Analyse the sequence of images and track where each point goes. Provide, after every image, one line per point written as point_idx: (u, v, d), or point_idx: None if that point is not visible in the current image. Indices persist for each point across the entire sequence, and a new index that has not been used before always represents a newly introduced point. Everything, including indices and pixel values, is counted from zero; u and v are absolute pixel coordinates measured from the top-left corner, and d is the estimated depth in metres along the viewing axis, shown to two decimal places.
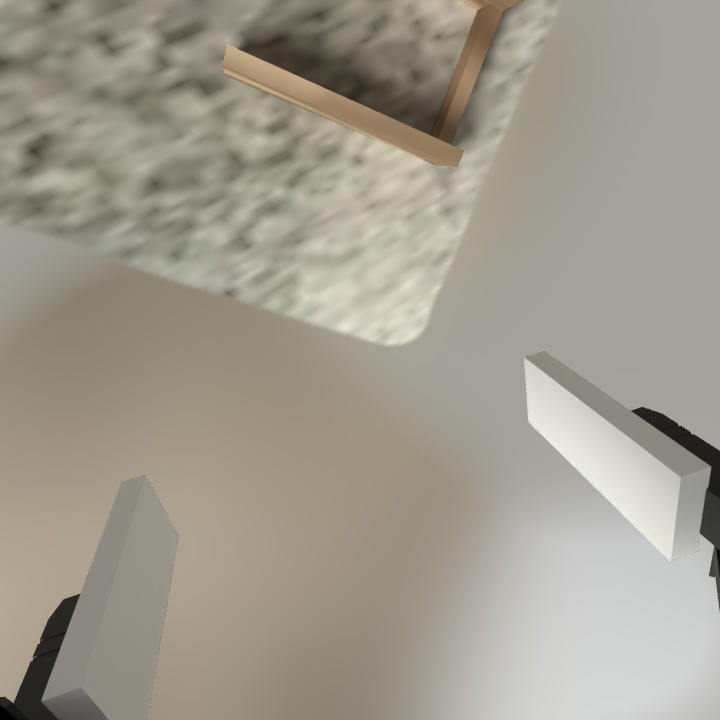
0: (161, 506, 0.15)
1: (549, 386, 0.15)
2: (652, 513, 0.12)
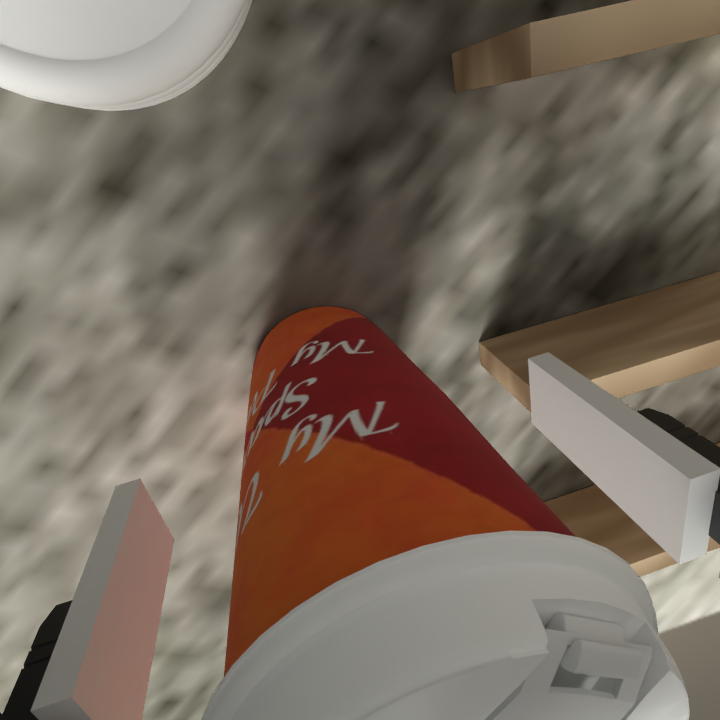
0: (156, 510, 0.15)
1: (554, 387, 0.15)
2: (660, 515, 0.12)
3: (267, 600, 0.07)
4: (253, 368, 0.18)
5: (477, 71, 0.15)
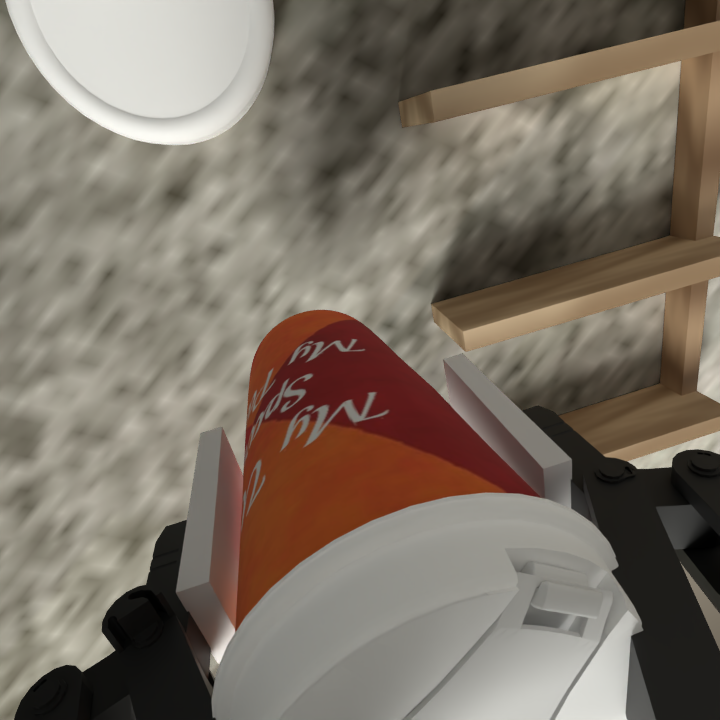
0: (233, 456, 0.17)
1: (461, 386, 0.16)
2: None
3: (274, 564, 0.08)
4: (251, 370, 0.19)
5: (411, 115, 0.23)
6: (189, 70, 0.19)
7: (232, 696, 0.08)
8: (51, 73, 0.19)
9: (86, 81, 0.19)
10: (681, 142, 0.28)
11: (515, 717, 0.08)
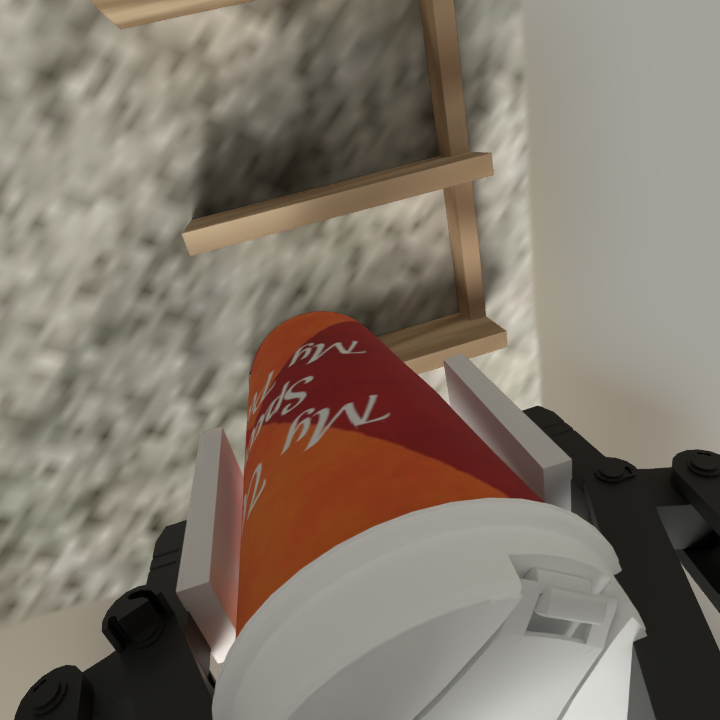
0: (233, 457, 0.17)
1: (461, 386, 0.16)
2: None
3: (274, 570, 0.08)
4: (251, 372, 0.19)
5: None
6: None
7: (232, 703, 0.08)
8: None
9: None
10: (428, 55, 0.28)
11: None
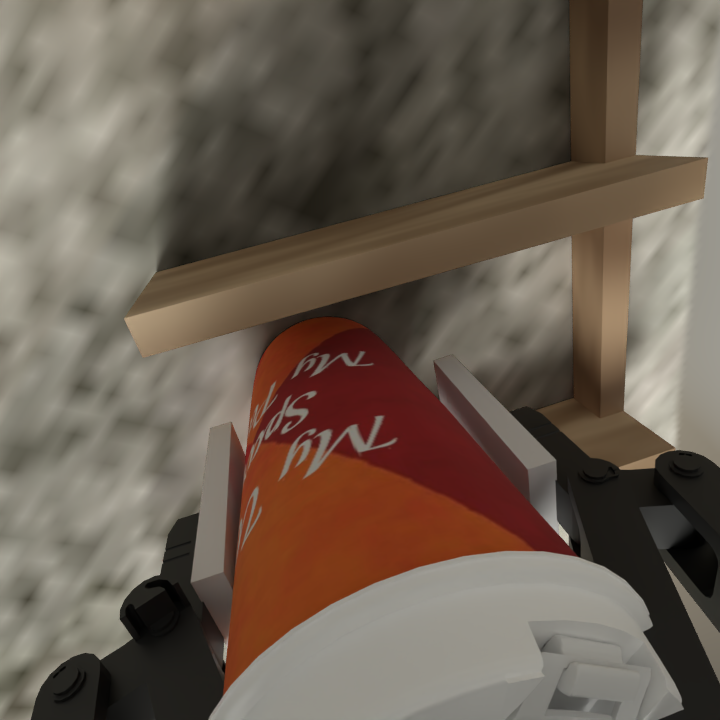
0: (242, 452, 0.17)
1: (450, 387, 0.16)
2: None
3: (265, 620, 0.07)
4: None
5: None
6: None
7: None
8: None
9: None
10: None
11: None
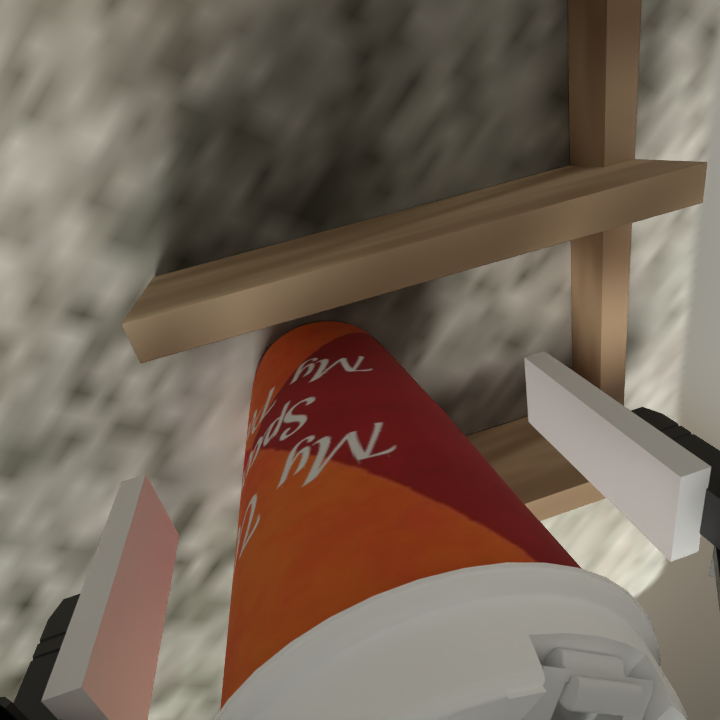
0: (161, 506, 0.15)
1: (549, 386, 0.15)
2: (652, 513, 0.12)
3: (263, 631, 0.07)
4: (253, 384, 0.18)
5: None
6: None
7: None
8: None
9: None
10: None
11: None
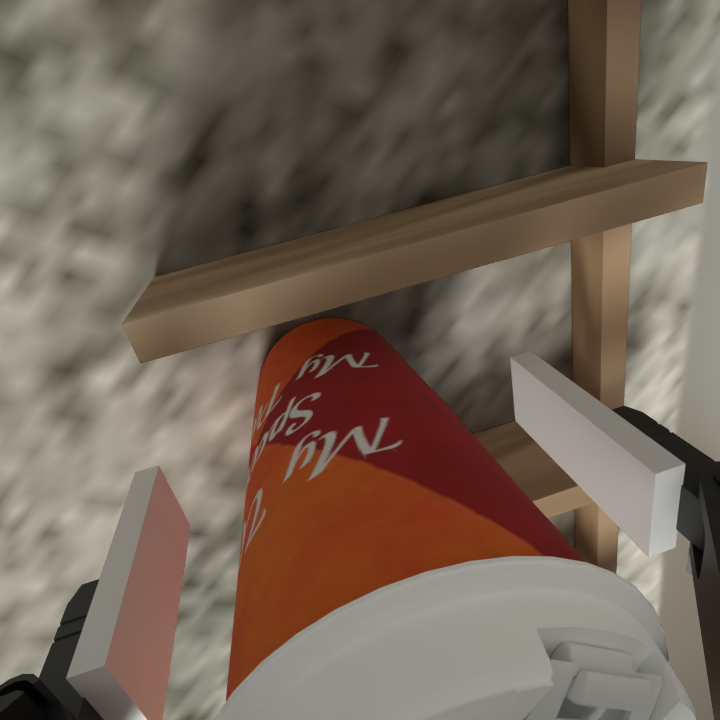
0: (173, 496, 0.16)
1: (534, 385, 0.15)
2: (630, 509, 0.12)
3: (269, 624, 0.07)
4: (259, 380, 0.18)
5: None
6: None
7: None
8: None
9: None
10: (577, 300, 0.21)
11: None
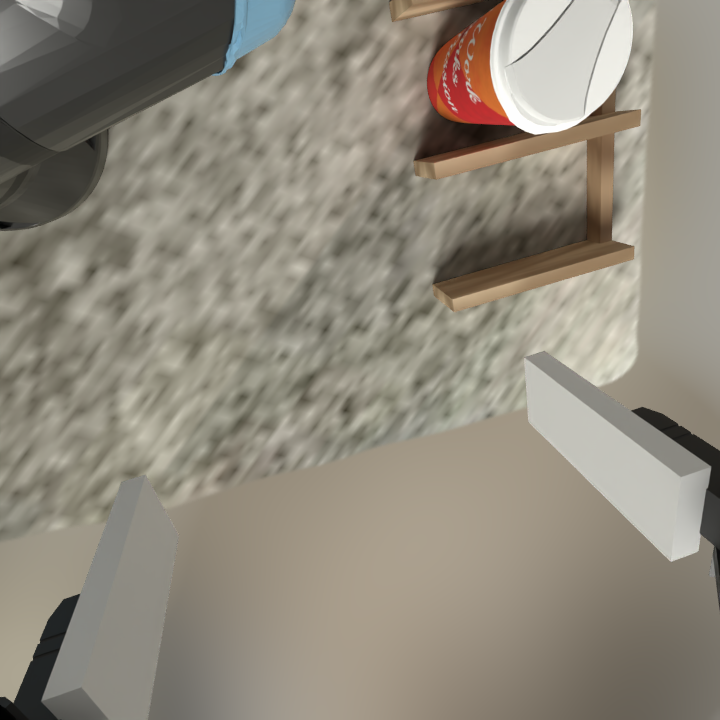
0: (161, 506, 0.15)
1: (549, 386, 0.15)
2: (652, 513, 0.12)
3: None
4: (432, 64, 0.37)
5: (398, 8, 0.34)
6: None
7: (502, 25, 0.25)
8: None
9: None
10: None
11: (589, 39, 0.25)
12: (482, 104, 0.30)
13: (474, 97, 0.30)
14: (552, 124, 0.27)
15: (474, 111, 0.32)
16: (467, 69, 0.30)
